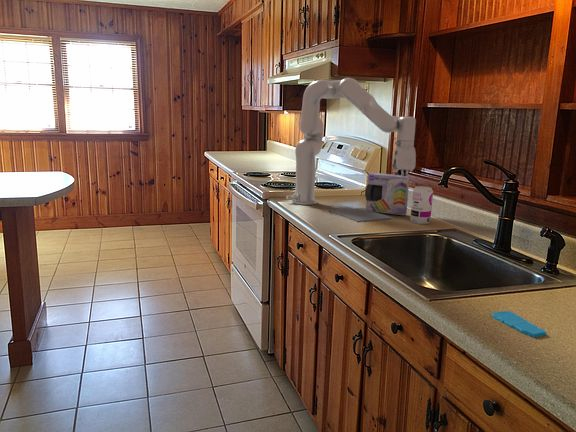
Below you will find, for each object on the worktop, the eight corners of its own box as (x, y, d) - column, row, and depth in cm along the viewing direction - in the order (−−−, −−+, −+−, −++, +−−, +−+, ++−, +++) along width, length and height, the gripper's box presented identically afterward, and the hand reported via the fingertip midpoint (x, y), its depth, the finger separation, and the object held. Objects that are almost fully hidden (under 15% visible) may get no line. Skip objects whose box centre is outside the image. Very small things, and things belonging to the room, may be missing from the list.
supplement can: (431, 221, 208) (434, 187, 205) (428, 225, 201) (431, 189, 198) (412, 219, 212) (415, 185, 208) (408, 223, 204) (411, 188, 201)
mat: (357, 222, 203) (357, 220, 203) (330, 211, 222) (330, 210, 222) (392, 218, 211) (392, 217, 211) (363, 208, 230) (364, 207, 230)
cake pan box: (362, 210, 224) (366, 172, 220) (366, 208, 228) (370, 171, 224) (403, 216, 215) (408, 177, 212) (406, 215, 220) (411, 176, 216)
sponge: (525, 335, 102) (548, 330, 104) (489, 312, 114) (510, 308, 115) (525, 342, 103) (548, 337, 104) (488, 318, 114) (510, 314, 115)
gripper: (397, 145, 212) (393, 186, 216) (423, 144, 219) (419, 184, 223) (386, 143, 219) (383, 183, 223) (412, 143, 225) (409, 182, 229)
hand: (401, 184), depth 223 cm, fingers closed
